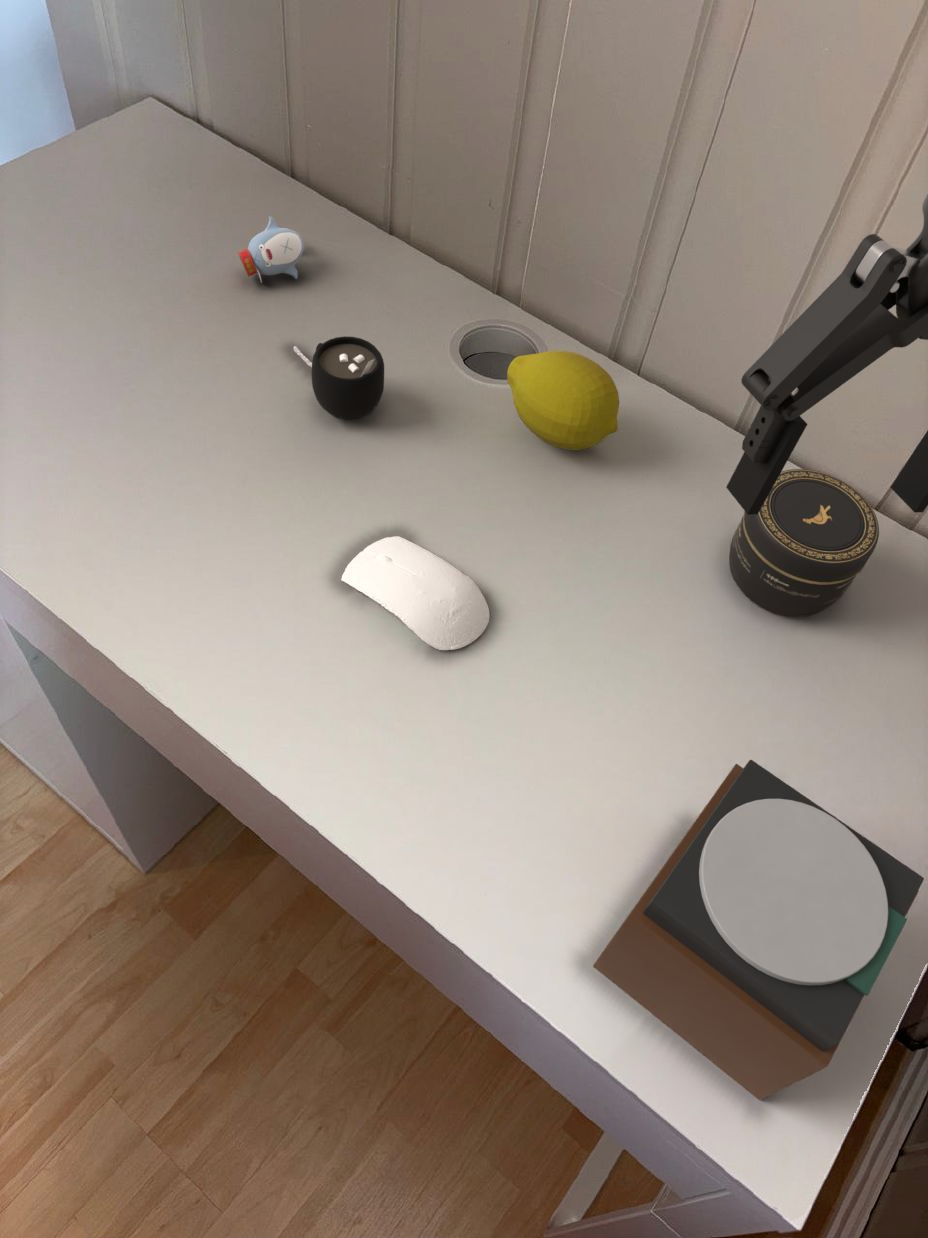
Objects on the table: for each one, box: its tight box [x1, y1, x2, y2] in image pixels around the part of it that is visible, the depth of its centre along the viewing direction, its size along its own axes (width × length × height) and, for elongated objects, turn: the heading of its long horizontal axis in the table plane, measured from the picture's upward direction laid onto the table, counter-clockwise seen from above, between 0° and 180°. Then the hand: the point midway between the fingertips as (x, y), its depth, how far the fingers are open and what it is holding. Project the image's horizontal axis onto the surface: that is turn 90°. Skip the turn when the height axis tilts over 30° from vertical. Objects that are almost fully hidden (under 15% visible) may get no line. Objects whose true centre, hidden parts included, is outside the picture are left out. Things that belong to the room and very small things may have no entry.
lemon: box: [506, 350, 620, 451], centre depth 84 cm, size 11×8×8 cm
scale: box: [592, 759, 925, 1101], centre depth 57 cm, size 12×12×13 cm
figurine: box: [237, 215, 305, 284], centre depth 96 cm, size 5×8×4 cm
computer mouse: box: [340, 535, 490, 651], centre depth 75 cm, size 7×12×2 cm, turn 49°
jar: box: [728, 468, 880, 617], centre depth 77 cm, size 10×10×8 cm
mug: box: [292, 336, 385, 420], centre depth 85 cm, size 12×6×7 cm, turn 40°
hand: (827, 500), depth 63 cm, fingers open, 13 cm apart
